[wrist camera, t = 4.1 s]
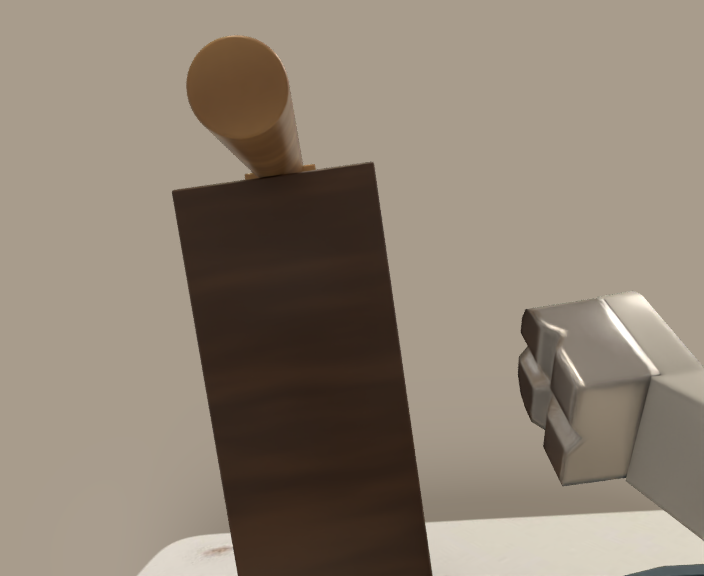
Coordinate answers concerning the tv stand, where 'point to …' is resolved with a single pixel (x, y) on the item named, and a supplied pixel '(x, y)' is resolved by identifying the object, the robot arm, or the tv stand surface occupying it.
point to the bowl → (673, 571)
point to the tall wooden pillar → (304, 373)
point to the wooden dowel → (247, 104)
